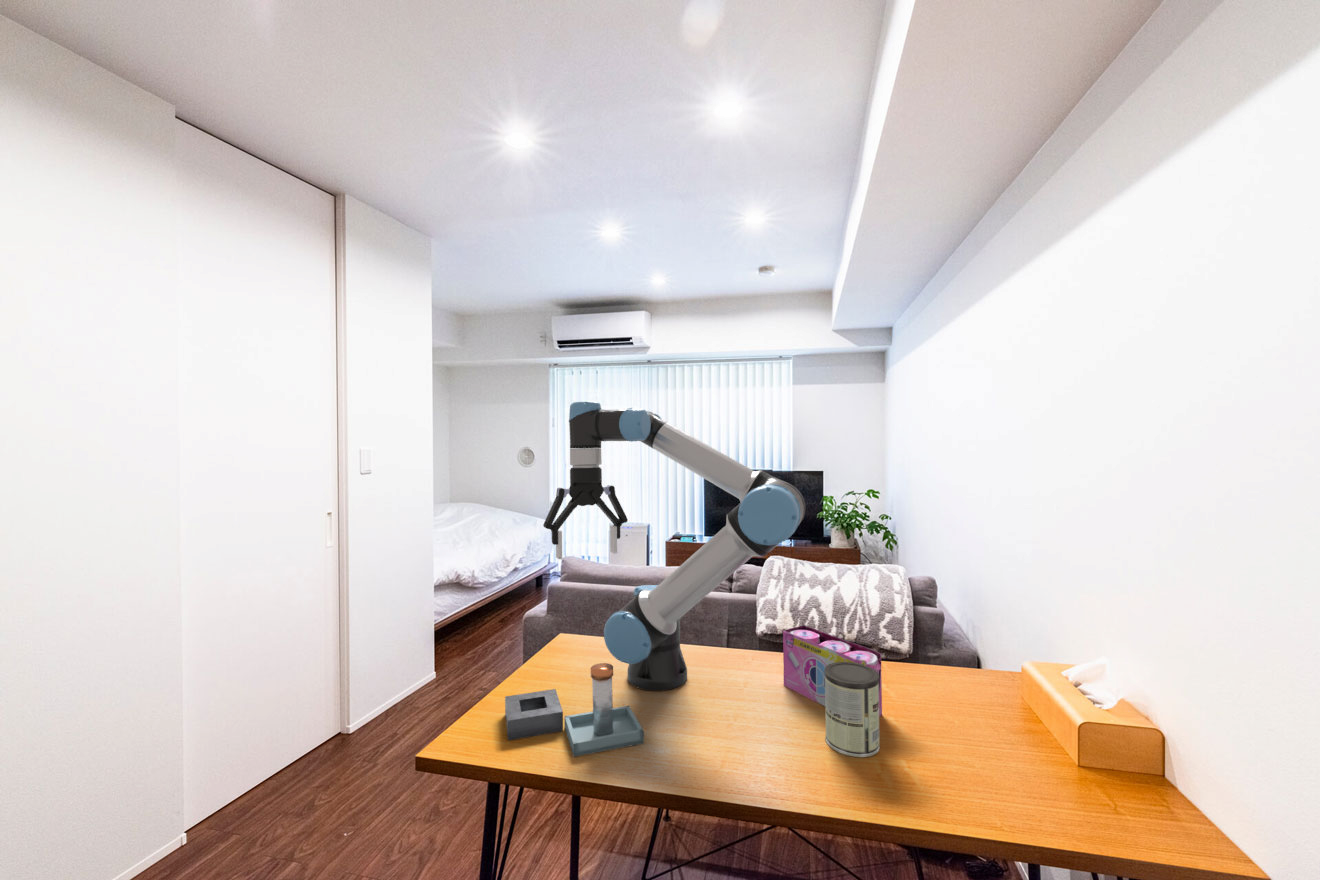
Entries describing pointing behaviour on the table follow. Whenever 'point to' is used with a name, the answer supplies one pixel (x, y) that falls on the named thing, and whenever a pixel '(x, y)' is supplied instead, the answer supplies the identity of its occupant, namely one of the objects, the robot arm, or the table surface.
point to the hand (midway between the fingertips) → (587, 555)
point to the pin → (602, 699)
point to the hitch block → (533, 714)
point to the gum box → (820, 660)
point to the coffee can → (852, 709)
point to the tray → (587, 742)
